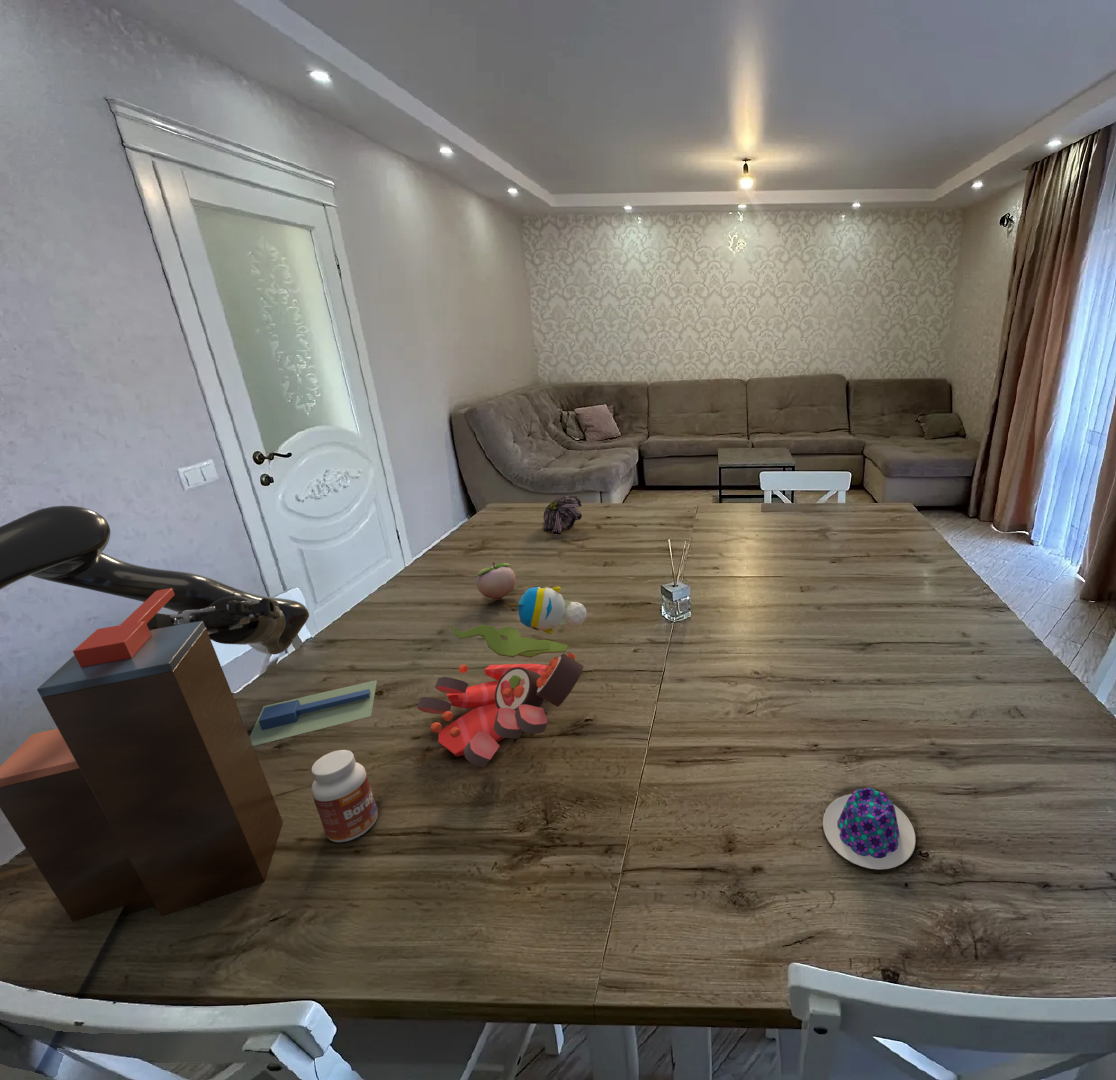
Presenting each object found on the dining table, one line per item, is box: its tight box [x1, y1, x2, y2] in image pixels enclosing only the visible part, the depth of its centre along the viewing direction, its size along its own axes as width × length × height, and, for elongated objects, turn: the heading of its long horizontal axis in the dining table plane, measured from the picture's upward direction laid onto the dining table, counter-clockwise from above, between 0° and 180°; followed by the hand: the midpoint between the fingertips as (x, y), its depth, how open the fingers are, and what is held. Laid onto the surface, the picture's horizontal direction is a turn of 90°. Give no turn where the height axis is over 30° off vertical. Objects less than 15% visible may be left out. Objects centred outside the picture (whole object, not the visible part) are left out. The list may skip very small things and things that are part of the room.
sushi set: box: [416, 586, 588, 768], centre depth 97 cm, size 29×30×24 cm
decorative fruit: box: [475, 562, 517, 600], centre depth 139 cm, size 9×8×10 cm
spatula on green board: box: [249, 679, 378, 747], centre depth 100 cm, size 18×12×1 cm, turn 115°
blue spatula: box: [259, 689, 371, 730], centre depth 100 cm, size 4×16×2 cm, turn 115°
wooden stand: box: [0, 621, 284, 923], centre depth 65 cm, size 18×10×32 cm, turn 115°
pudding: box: [822, 787, 916, 870], centre depth 74 cm, size 12×12×5 cm
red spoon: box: [72, 588, 175, 668], centre depth 65 cm, size 4×16×2 cm, turn 25°
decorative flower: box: [542, 495, 583, 535], centre depth 187 cm, size 14×12×15 cm
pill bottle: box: [310, 749, 379, 843], centre depth 76 cm, size 6×6×11 cm
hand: (193, 614), depth 77 cm, fingers open, 8 cm apart
